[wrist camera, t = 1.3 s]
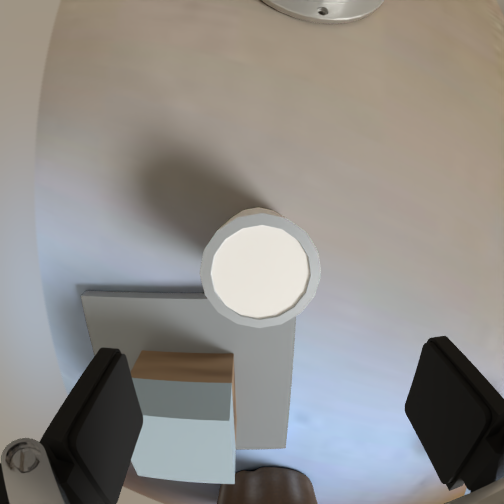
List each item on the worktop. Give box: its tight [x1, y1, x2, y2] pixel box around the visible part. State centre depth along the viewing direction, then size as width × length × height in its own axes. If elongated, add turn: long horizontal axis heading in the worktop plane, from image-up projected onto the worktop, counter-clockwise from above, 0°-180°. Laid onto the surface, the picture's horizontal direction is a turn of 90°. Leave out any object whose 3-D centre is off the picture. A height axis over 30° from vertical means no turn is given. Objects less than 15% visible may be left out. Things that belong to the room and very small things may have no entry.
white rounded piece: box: [200, 207, 321, 328], centre depth 21 cm, size 7×7×7 cm
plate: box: [81, 291, 296, 449], centre depth 27 cm, size 18×18×1 cm
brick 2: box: [131, 378, 236, 484], centre depth 21 cm, size 8×8×4 cm
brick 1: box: [130, 350, 237, 445], centre depth 25 cm, size 8×8×4 cm
